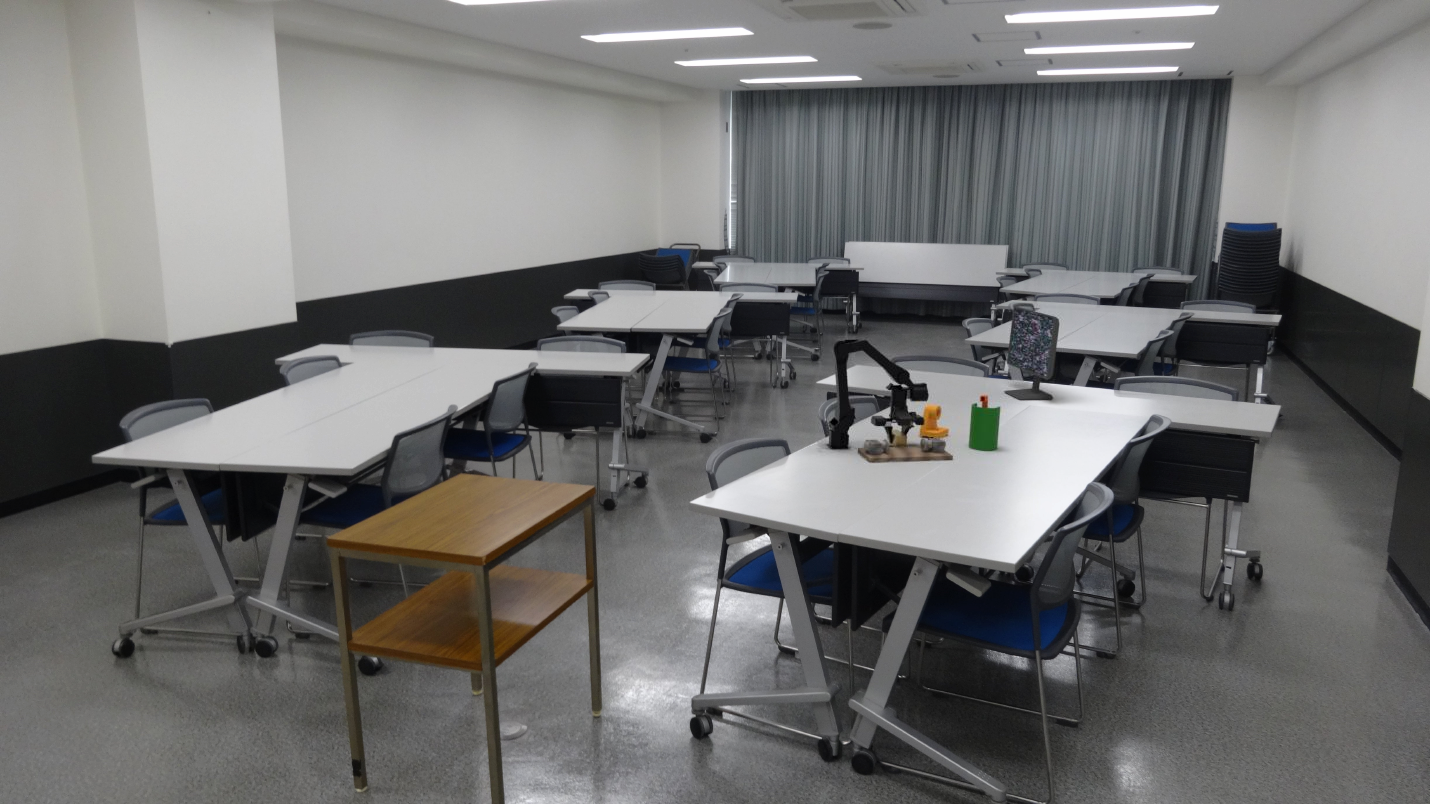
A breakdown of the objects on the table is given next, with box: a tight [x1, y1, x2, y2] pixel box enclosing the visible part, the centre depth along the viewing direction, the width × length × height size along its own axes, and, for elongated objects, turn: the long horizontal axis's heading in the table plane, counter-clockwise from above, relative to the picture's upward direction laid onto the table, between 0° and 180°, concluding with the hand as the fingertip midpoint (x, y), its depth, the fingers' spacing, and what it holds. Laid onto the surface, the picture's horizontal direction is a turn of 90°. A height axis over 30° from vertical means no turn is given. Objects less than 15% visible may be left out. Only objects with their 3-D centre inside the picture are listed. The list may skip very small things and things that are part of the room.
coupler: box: [886, 429, 908, 447], centre depth 349 cm, size 10×4×5 cm, turn 9°
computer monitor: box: [1003, 305, 1060, 401], centre depth 440 cm, size 44×16×40 cm, turn 6°
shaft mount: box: [857, 437, 954, 463], centre depth 335 cm, size 30×14×6 cm, turn 99°
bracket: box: [919, 404, 950, 439], centre depth 364 cm, size 11×7×12 cm, turn 142°
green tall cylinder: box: [968, 394, 1001, 451], centre depth 347 cm, size 10×9×20 cm
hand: (896, 443), depth 349 cm, fingers closed on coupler, 4 cm apart
